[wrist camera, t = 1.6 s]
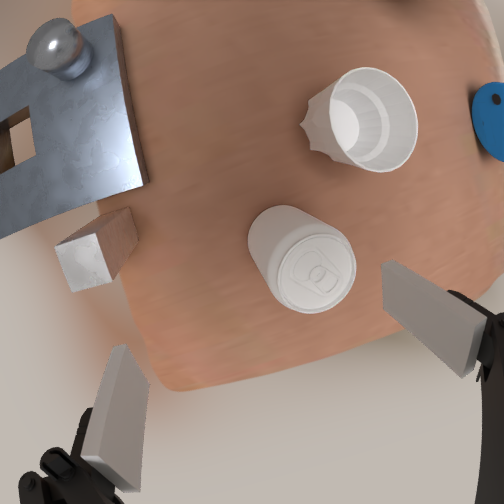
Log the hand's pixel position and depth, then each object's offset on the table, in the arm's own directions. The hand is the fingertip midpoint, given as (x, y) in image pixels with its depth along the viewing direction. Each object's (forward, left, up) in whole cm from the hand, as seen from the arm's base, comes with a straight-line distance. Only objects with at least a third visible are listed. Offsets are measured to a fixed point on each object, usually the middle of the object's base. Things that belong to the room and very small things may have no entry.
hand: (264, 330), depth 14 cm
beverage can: (+3, +6, -22) cm, 23 cm away
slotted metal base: (-17, -17, -21) cm, 32 cm away
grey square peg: (-3, -12, -21) cm, 24 cm away
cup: (-9, +15, -22) cm, 28 cm away
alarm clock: (-9, +46, -22) cm, 52 cm away
